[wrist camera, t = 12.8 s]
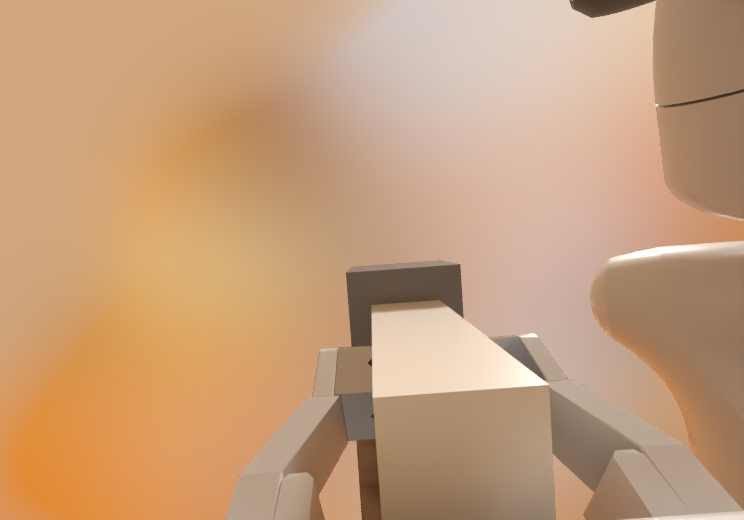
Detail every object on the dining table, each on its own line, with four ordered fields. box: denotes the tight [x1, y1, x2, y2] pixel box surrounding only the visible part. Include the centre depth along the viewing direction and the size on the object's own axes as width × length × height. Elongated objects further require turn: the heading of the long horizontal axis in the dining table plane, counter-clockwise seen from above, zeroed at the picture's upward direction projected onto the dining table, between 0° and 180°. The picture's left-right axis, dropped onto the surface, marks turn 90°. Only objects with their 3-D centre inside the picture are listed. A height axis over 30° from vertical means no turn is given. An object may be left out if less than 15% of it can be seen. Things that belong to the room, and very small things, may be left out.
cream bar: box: [346, 260, 556, 520], centre depth 12 cm, size 5×13×4 cm, turn 0°
